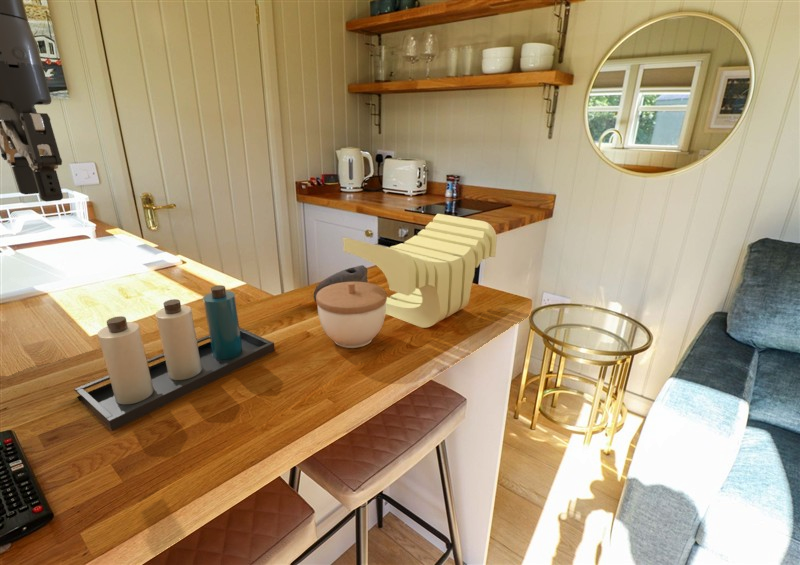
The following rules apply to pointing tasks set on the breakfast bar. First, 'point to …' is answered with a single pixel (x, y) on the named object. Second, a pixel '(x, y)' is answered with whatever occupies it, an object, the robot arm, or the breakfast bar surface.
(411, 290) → the slatted curved stool
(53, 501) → the breakfast bar surface
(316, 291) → the perforated stone tool
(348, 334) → the lidded bowl
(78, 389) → the tray
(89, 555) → the breakfast bar surface
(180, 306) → the cream bottle
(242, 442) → the breakfast bar surface
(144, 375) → the cream bottle
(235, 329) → the teal bottle
